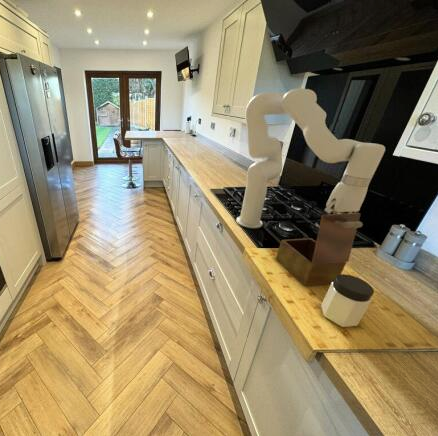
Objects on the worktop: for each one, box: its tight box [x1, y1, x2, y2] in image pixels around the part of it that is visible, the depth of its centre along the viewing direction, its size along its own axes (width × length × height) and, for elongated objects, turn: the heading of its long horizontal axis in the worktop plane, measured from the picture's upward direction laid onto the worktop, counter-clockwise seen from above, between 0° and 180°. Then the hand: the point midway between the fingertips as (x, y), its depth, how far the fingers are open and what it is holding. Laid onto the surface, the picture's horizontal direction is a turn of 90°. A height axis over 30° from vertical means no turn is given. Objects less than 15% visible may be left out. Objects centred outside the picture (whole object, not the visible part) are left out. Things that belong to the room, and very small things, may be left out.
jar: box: [320, 273, 375, 328], centre depth 66 cm, size 9×8×12 cm
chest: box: [275, 237, 347, 287], centre depth 86 cm, size 16×13×9 cm
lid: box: [312, 212, 364, 264], centre depth 72 cm, size 16×13×5 cm
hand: (334, 226), depth 89 cm, fingers closed on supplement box, 3 cm apart
